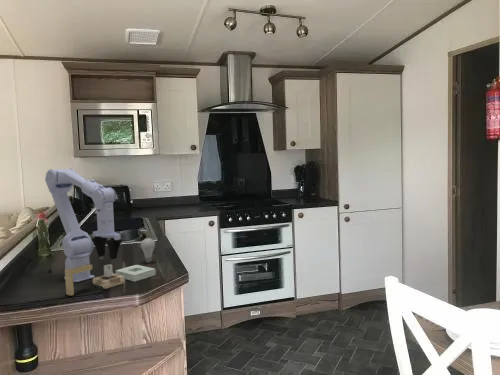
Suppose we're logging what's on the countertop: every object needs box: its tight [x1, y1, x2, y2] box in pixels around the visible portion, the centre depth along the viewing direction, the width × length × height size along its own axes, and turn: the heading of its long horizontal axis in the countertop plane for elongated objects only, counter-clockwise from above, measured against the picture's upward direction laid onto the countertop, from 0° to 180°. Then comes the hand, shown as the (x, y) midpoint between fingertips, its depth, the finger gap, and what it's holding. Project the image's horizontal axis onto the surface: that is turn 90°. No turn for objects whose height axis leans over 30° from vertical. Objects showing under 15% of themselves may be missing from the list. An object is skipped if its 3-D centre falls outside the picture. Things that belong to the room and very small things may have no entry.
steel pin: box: [103, 264, 114, 280], centre depth 146 cm, size 3×3×7 cm
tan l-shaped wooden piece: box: [64, 264, 93, 296], centre depth 137 cm, size 3×8×9 cm, turn 143°
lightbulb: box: [140, 237, 156, 264], centre depth 175 cm, size 6×6×11 cm
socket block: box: [92, 273, 126, 289], centre depth 146 cm, size 8×8×2 cm
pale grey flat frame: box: [114, 264, 157, 282], centre depth 156 cm, size 12×10×2 cm
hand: (107, 257), depth 146 cm, fingers open, 7 cm apart
